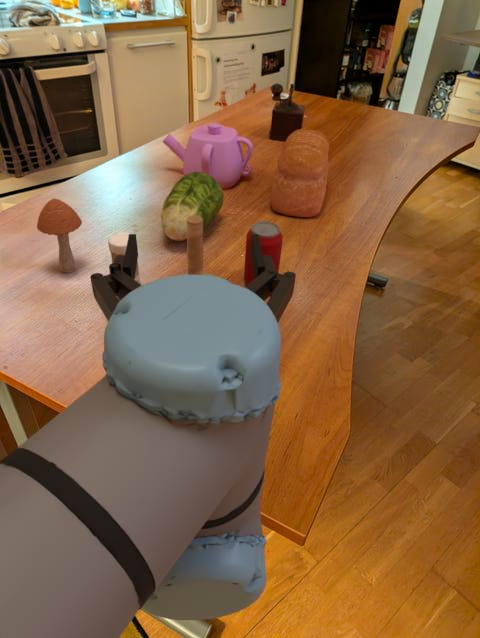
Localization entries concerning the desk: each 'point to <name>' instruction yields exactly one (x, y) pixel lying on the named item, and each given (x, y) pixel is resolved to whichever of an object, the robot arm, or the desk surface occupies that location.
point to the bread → (301, 174)
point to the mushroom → (60, 229)
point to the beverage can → (263, 245)
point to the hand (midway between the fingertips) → (194, 244)
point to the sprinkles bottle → (120, 249)
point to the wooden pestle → (195, 245)
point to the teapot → (213, 153)
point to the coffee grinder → (285, 114)
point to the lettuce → (191, 203)
